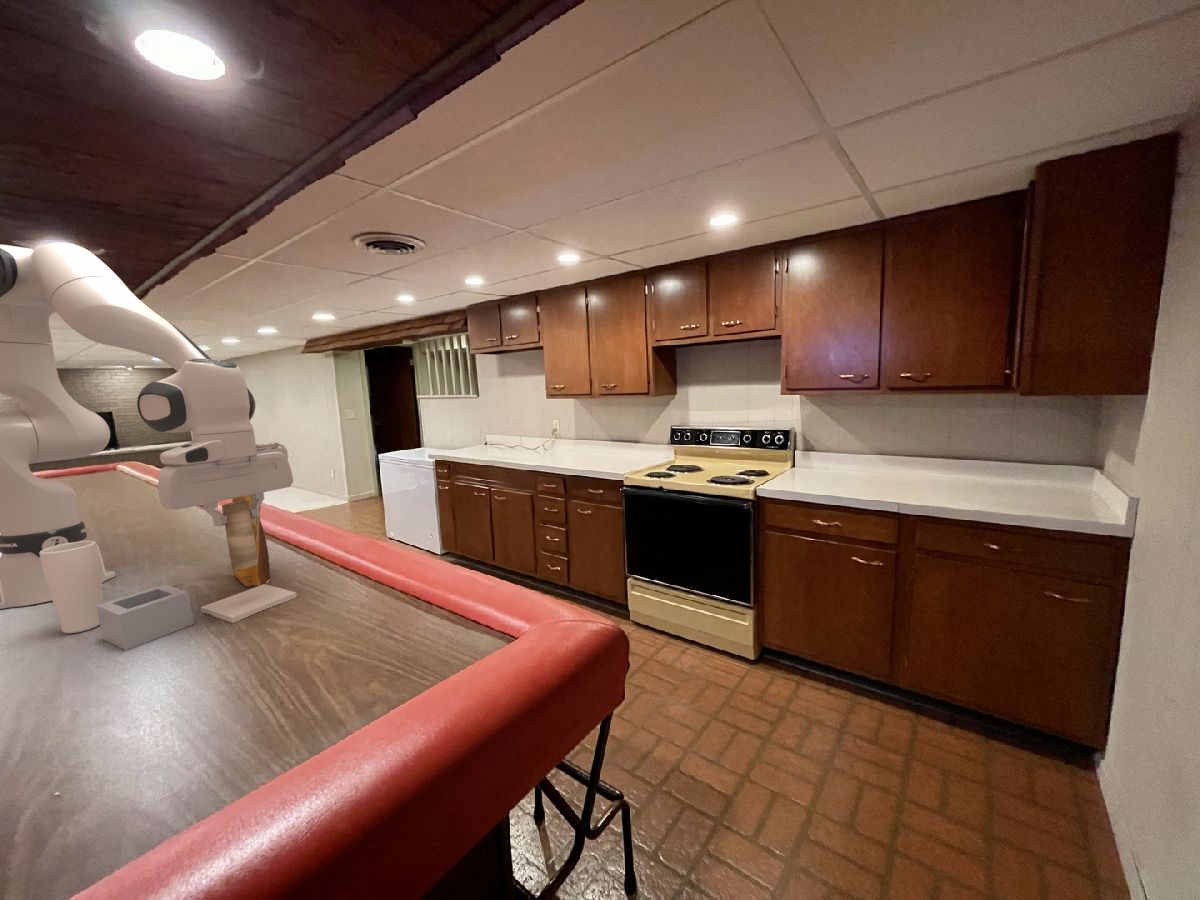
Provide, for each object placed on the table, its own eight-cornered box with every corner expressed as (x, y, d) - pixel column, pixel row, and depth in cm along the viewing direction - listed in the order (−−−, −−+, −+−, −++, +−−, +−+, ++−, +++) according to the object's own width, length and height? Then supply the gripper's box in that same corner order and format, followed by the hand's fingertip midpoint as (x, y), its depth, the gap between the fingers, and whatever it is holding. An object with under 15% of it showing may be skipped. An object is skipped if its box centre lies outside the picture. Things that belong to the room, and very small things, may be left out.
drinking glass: (74, 638, 80) (57, 553, 78) (45, 636, 81) (27, 552, 79) (121, 619, 87) (106, 540, 85) (93, 617, 88) (78, 539, 86)
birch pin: (227, 567, 88) (217, 505, 87) (250, 560, 92) (241, 500, 90) (238, 570, 86) (228, 506, 85) (262, 562, 90) (253, 501, 88)
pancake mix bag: (262, 563, 113) (245, 448, 110) (286, 581, 101) (268, 452, 97) (227, 572, 108) (208, 452, 105) (248, 592, 96) (227, 457, 92)
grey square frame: (102, 639, 79) (95, 605, 78) (169, 615, 87) (164, 584, 86) (125, 650, 75) (118, 614, 74) (194, 624, 83) (188, 591, 82)
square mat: (201, 612, 88) (200, 607, 88) (264, 588, 98) (264, 584, 97) (233, 623, 83) (232, 617, 83) (296, 597, 93) (296, 592, 92)
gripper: (276, 441, 97) (285, 506, 99) (147, 456, 79) (161, 535, 81) (294, 441, 94) (303, 508, 96) (165, 456, 76) (179, 539, 78)
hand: (237, 521), depth 88 cm, fingers closed on birch pin, 4 cm apart
